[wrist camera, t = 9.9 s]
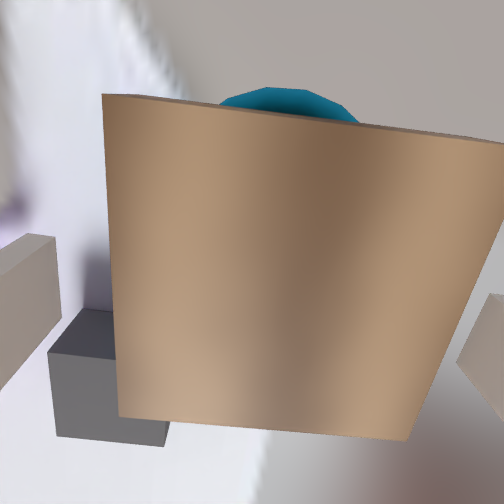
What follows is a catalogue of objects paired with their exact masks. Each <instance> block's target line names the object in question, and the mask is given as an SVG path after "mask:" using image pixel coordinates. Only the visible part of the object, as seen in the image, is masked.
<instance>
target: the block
mask: <svg viewBox="0 0 504 504" xmlns="http://www.w3.org/2000/svg"><path fill="white" fill-rule="evenodd" d="M102 110H103V129H104V148H105V166H106V185H107V204H108V223H109V241H110V260H111V279H112V298H113V316H114V335H115V354H116V373H117V391H118V410H119V417H125V418H137V419H149V420H161V421H172V422H184V423H196V424H208V425H220V426H231V427H243V428H255V429H267V430H280V431H291V432H303V433H314V434H326V435H338V436H350V437H361V438H362V437H363V438H374V439H385V440H397V441H407V440H408V437H409V435H410V433H411V430H412V428H413V426H414V423H415V421H416V419H417V417H418V414H419V412H420V410H421V408H422V405H423V403H424V400H425V398H426V396H427V394H428V391H429V389H430V387H431V385H432V382H433V380H434V378H435V375H436V373H437V370H438V369H439V366H440V363H441V361H442V359H443V357H444V355H445V352H446V350H447V348H448V345H449V343H450V341H451V339H452V336H453V334H454V332H455V329H456V327H457V325H458V323H459V320H460V318H461V316H462V313H463V311H464V309H465V306H466V304H467V302H468V300H469V297H470V295H471V293H472V290H473V288H474V286H475V284H476V281H477V279H478V277H479V274H480V272H481V270H482V267H483V265H484V263H485V260H486V258H487V256H488V254H489V251H490V249H491V247H492V245H493V242H494V240H495V238H496V235H497V233H498V231H499V229H500V226H501V224H502V222H503V219H504V143H500V142H494V141H489V140H483V139H478V138H472V137H466V136H458V135H450V134H443V133H435V132H427V131H419V130H412V129H404V128H396V127H388V126H380V125H373V124H365V123H357V122H349V121H342V120H334V119H326V118H318V117H310V116H303V115H295V114H287V113H279V112H271V111H264V110H256V109H248V108H240V107H232V106H225V105H216V104H209V103H201V102H193V101H186V100H178V99H170V98H162V97H154V96H147V95H139V94H102Z"/></svg>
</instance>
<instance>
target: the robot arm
mask: <svg viewBox="0 0 504 504" xmlns="http://www.w3.org/2000/svg"><path fill="white" fill-rule="evenodd" d="M61 318H62V314H61V301H60V289H59V277H58V265H57V253H56V241H55V237H52V236H44V235H37V234H29V233H27V234H25V235H24V236H22V237H20V238H19V239H17V240H15V241H14V242H12V243H10V244H9V245H7V246H6V247H4V248H2V249H1V250H0V390H1V389H2V388H3V387H4V386H5V384H6V383H7V382H8V381H9V380H10V379H11V377H12V376H13V375H14V374H15V373H16V371H17V370H18V369H19V368H20V367H21V366H22V364H23V363H24V362H25V361H26V360H27V358H28V357H29V356H30V355H31V354H32V352H33V351H34V350H35V349H36V348H37V347H38V345H39V344H40V343H41V342H42V341H43V339H44V338H45V337H46V336H47V335H48V334H49V332H50V331H51V330H52V329H53V328H54V326H55V325H56V324H57V323H58V322H59V321H60V319H61ZM456 363H457V364H458V366H459V367H460V368H461V369H462V371H463V372H464V373H465V374H466V376H467V377H468V378H469V380H470V381H471V382H472V383H473V385H474V386H475V387H476V388H477V390H478V391H479V392H480V393H481V394H482V396H483V397H484V398H485V400H486V401H487V402H488V403H489V404H490V406H491V407H492V408H493V410H494V411H495V412H496V413H497V414H498V416H499V417H500V418H501V420H502V421H503V422H504V295H499V294H491V293H490V294H489V296H488V298H487V300H486V302H485V304H484V306H483V308H482V310H481V312H480V314H479V316H478V318H477V321H476V322H475V325H474V327H473V328H472V331H471V333H470V335H469V337H468V339H467V341H466V343H465V345H464V347H463V349H462V351H461V353H460V355H459V357H458V359H457V361H456Z"/></svg>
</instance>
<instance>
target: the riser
mask: <svg viewBox="0 0 504 504" xmlns="http://www.w3.org/2000/svg"><path fill="white" fill-rule="evenodd" d="M47 355H48V364H49V373H50V382H51V390H52V399H53V408H54V417H55V426H56V434H57V436H59V437H69V438H79V439H89V440H99V441H109V442H119V443H128V444H138V445H148V446H158V447H164V445H165V441H166V437H167V433H168V429H169V425H170V421H161V420H149V419H137V418H125V417H119V410H118V391H117V373H116V354H115V335H114V316H113V312H106V311H97V310H89V309H82V310H81V311H80V312H79V313H78V314H77V316H76V317H75V318H74V319H73V321H72V322H71V323H70V324H69V326H68V327H67V328H66V329H65V331H64V332H63V333H62V334H61V336H60V337H59V338H58V339H57V341H56V342H55V343H54V344H53V346H52V347H51V348H50V349H49V351H48V352H47Z"/></svg>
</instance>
